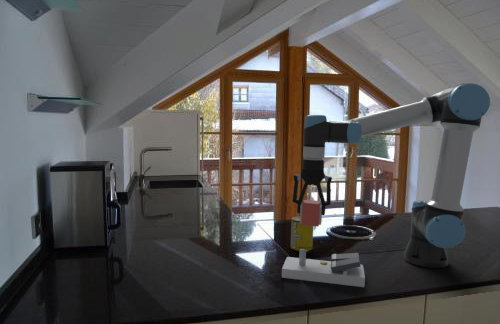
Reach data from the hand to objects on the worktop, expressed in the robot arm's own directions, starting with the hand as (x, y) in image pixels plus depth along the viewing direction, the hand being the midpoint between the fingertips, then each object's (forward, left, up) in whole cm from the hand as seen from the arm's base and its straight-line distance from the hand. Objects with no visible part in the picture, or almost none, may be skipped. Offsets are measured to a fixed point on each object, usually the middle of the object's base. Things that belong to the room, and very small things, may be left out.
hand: (310, 223), depth 136 cm
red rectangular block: (0, 0, 0) cm, 0 cm away
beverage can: (+5, -18, -15) cm, 24 cm away
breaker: (-12, +13, -9) cm, 20 cm away
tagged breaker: (-12, +7, -9) cm, 17 cm away
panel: (-5, +10, -15) cm, 19 cm away
